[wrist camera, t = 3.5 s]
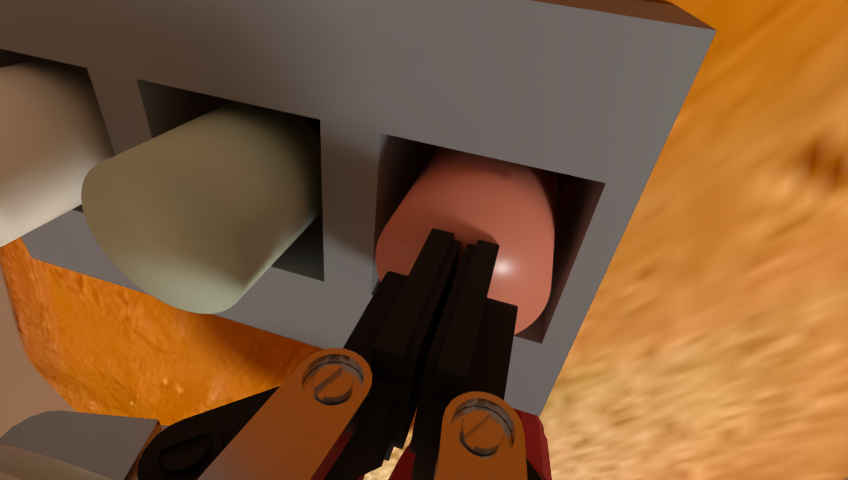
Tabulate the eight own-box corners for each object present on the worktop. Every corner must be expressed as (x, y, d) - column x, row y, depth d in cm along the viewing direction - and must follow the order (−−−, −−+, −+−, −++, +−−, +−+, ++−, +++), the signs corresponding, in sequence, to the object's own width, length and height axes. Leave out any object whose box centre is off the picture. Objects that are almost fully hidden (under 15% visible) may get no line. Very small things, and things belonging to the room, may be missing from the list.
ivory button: (17, 43, 15) (-180, 79, 11) (129, 68, 14) (-39, 115, 10) (64, 163, 17) (-82, 226, 13) (161, 189, 17) (37, 264, 13)
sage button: (200, 84, 14) (53, 139, 10) (333, 112, 13) (230, 185, 9) (223, 206, 16) (113, 288, 12) (334, 235, 15) (254, 332, 12)
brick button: (433, 112, 14) (380, 177, 10) (576, 142, 13) (576, 224, 9) (419, 228, 16) (371, 315, 13) (537, 258, 16) (525, 360, 12)
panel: (3, -100, 14) (-160, -111, 11) (675, 5, 11) (716, 30, 8) (112, 210, 21) (31, 257, 18) (545, 332, 18) (539, 416, 15)
